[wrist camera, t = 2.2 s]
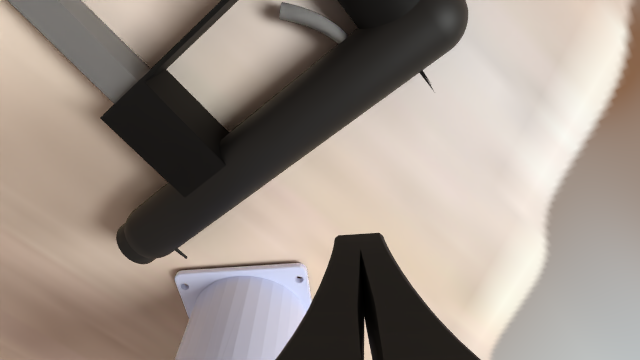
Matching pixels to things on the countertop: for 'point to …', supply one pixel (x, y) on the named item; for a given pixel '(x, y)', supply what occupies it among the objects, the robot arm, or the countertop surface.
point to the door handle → (257, 130)
